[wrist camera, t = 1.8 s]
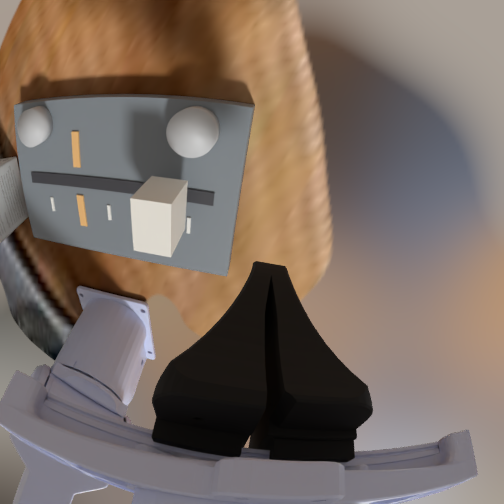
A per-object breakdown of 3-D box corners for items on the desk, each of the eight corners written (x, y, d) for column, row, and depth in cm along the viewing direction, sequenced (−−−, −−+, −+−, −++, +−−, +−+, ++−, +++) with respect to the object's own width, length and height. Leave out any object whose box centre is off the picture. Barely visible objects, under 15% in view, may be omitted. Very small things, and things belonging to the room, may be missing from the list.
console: (229, 263, 23) (224, 287, 21) (42, 228, 23) (26, 244, 20) (255, 104, 16) (251, 110, 14) (26, 100, 16) (3, 108, 13)
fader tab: (190, 219, 19) (171, 257, 16) (158, 214, 19) (133, 250, 16) (193, 173, 17) (171, 204, 14) (158, 168, 17) (130, 198, 14)
